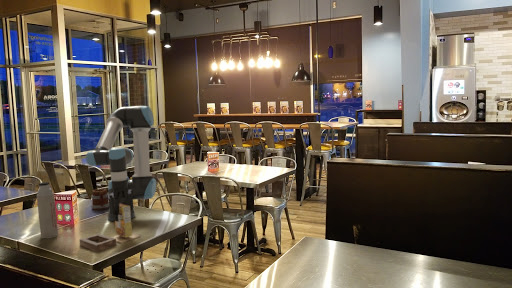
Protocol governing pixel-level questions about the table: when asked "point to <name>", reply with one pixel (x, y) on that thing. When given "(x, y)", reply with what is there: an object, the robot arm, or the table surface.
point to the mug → (99, 199)
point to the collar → (104, 241)
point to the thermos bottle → (47, 211)
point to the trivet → (123, 239)
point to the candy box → (124, 221)
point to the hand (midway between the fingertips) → (123, 226)
